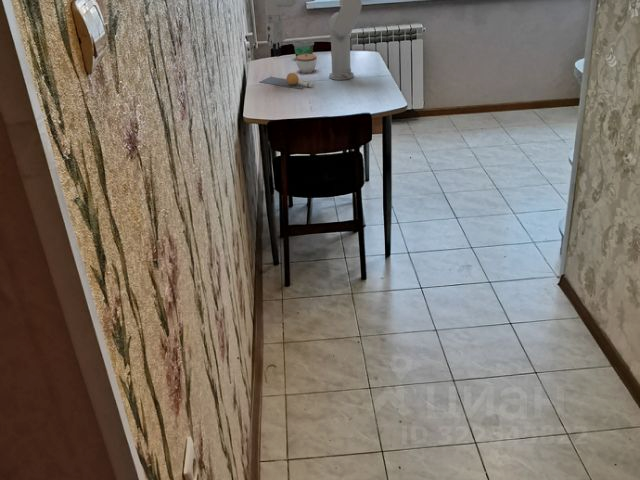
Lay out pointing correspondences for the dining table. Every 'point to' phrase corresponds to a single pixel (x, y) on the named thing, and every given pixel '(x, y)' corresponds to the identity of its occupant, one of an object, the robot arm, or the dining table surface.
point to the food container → (303, 47)
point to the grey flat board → (280, 82)
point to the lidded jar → (306, 62)
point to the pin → (305, 84)
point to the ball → (292, 79)
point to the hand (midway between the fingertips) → (277, 56)
